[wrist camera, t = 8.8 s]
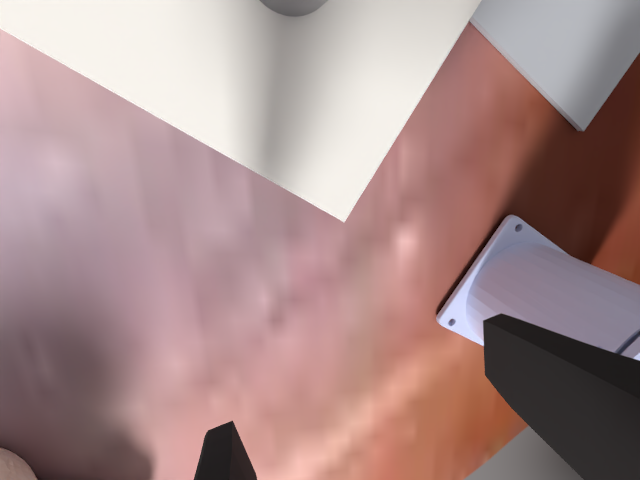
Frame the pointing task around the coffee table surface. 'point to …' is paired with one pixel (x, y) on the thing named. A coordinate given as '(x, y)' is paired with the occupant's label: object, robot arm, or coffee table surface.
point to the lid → (261, 74)
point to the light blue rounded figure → (14, 467)
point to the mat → (565, 47)
